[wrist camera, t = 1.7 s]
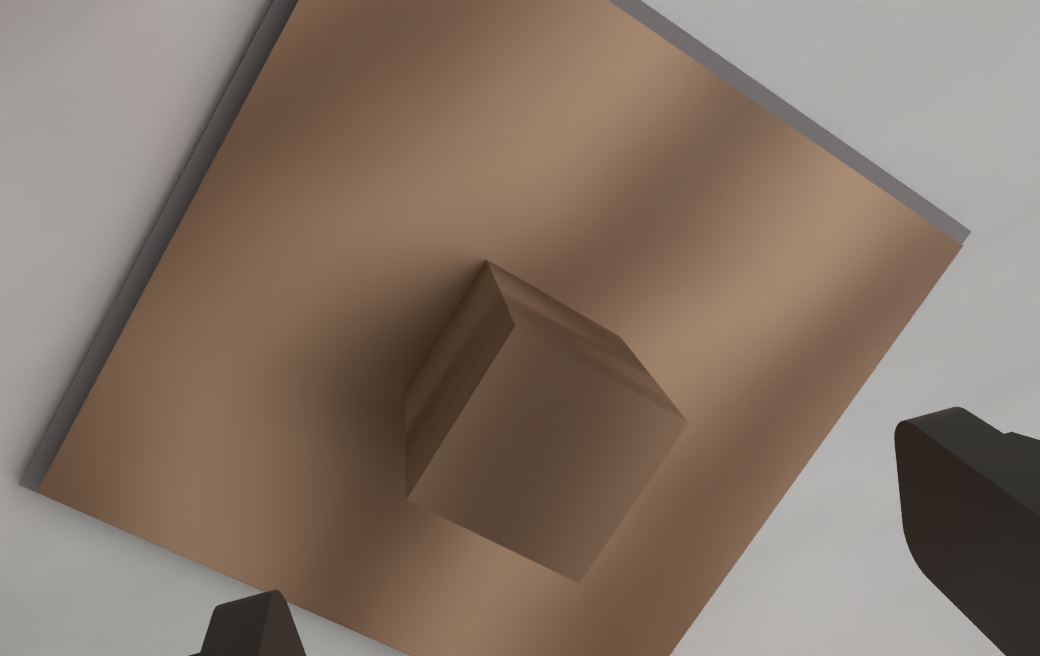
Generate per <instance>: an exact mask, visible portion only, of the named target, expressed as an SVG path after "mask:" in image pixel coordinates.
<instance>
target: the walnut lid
mask: <svg viewBox="0 0 1040 656" xmlns="http://www.w3.org/2000/svg"><path fill="white" fill-rule="evenodd" d="M962 247H963V245H962V244H960V243H959V242H957V241H956V240H954V239H953V238H952V237H950V236H949V235H947V234H946V233H944V232H943V231H941V230H940V229H939V228H937V227H936V226H934V225H933V224H931V223H930V222H928V221H927V220H926V219H924V218H923V217H921V216H920V215H918V214H917V213H915V212H914V211H913V210H911V209H910V208H908V207H907V206H905V205H904V204H902V203H901V202H899V201H898V200H897V199H895V198H894V197H892V196H891V195H889V194H888V193H886V192H885V191H884V190H882V189H881V188H879V187H878V186H876V185H875V184H873V183H872V182H871V181H869V180H868V179H866V178H865V177H863V176H862V175H860V174H859V173H858V172H856V171H855V170H853V169H852V168H850V167H849V166H847V165H846V164H844V163H843V162H842V161H840V160H839V159H837V158H836V157H834V156H833V155H831V154H830V153H829V152H827V151H826V150H824V149H823V148H821V147H820V146H818V145H817V144H816V143H814V142H813V141H811V140H810V139H808V138H807V137H805V136H804V135H803V134H801V133H800V132H798V131H797V130H795V129H794V128H792V127H791V126H789V125H788V124H787V123H785V122H784V121H782V120H781V119H779V118H778V117H776V116H775V115H774V114H772V113H771V112H769V111H768V110H766V109H765V108H763V107H762V106H761V105H759V104H758V103H756V102H755V101H753V100H752V99H750V98H749V97H747V96H746V95H745V94H743V93H742V92H740V91H739V90H737V89H736V88H734V87H733V86H732V85H730V84H729V83H727V82H726V81H724V80H723V79H721V78H720V77H719V76H717V75H716V74H714V73H713V72H711V71H710V70H708V69H707V68H706V67H704V66H703V65H701V64H700V63H698V62H697V61H695V60H694V59H692V58H691V57H690V56H688V55H687V54H685V53H684V52H682V51H681V50H679V49H678V48H677V47H675V46H674V45H672V44H671V43H669V42H668V41H666V40H665V39H664V38H662V37H661V36H659V35H658V34H656V33H655V32H653V31H652V30H651V29H649V28H648V27H646V26H645V25H643V24H642V23H640V22H639V21H637V20H636V19H635V18H633V17H632V16H630V15H629V14H627V13H626V12H624V11H623V10H622V9H620V8H619V7H617V6H616V5H614V4H613V3H611V2H610V1H609V0H299V1H298V3H297V5H296V6H295V8H294V10H293V12H292V14H291V16H290V18H289V20H288V21H287V23H286V25H285V27H284V29H283V31H282V33H281V35H280V36H279V38H278V40H277V42H276V44H275V46H274V48H273V50H272V51H271V53H270V55H269V57H268V59H267V61H266V63H265V65H264V66H263V68H262V70H261V72H260V74H259V76H258V78H257V80H256V82H255V83H254V85H253V87H252V89H251V91H250V93H249V95H248V97H247V98H246V100H245V102H244V104H243V106H242V108H241V110H240V112H239V113H238V115H237V117H236V119H235V121H234V123H233V125H232V127H231V128H230V130H229V132H228V134H227V136H226V138H225V140H224V142H223V143H222V145H221V147H220V149H219V151H218V153H217V155H216V157H215V158H214V160H213V162H212V164H211V166H210V168H209V170H208V172H207V173H206V175H205V177H204V179H203V181H202V183H201V185H200V187H199V188H198V190H197V192H196V194H195V196H194V198H193V200H192V202H191V203H190V205H189V207H188V209H187V211H186V213H185V215H184V217H183V219H182V220H181V222H180V224H179V226H178V228H177V230H176V232H175V234H174V235H173V237H172V239H171V241H170V243H169V245H168V247H167V249H166V250H165V252H164V254H163V256H162V258H161V260H160V262H159V264H158V265H157V267H156V269H155V271H154V273H153V275H152V277H151V279H150V280H149V282H148V284H147V286H146V288H145V290H144V292H143V294H142V295H141V297H140V299H139V301H138V303H137V305H136V307H135V309H134V310H133V312H132V314H131V316H130V318H129V320H128V322H127V324H126V325H125V327H124V329H123V331H122V333H121V335H120V337H119V339H118V340H117V342H116V344H115V346H114V348H113V350H112V352H111V354H110V355H109V357H108V359H107V361H106V363H105V365H104V367H103V369H102V371H101V372H100V374H99V376H98V378H97V380H96V382H95V384H94V386H93V387H92V389H91V391H90V393H89V395H88V397H87V399H86V401H85V402H84V404H83V406H82V408H81V410H80V412H79V414H78V416H77V417H76V419H75V421H74V423H73V425H72V427H71V429H70V431H69V432H68V434H67V436H66V438H65V440H64V442H63V444H62V446H61V447H60V449H59V451H58V453H57V455H56V457H55V459H54V461H53V462H52V464H51V466H50V468H49V470H48V472H47V474H46V476H45V477H44V479H43V481H42V483H41V485H40V487H39V489H38V491H37V493H40V494H42V495H44V496H46V497H49V498H51V499H53V500H56V501H58V502H60V503H62V504H65V505H67V506H69V507H72V508H74V509H76V510H78V511H81V512H83V513H85V514H88V515H90V516H92V517H95V518H97V519H99V520H101V521H104V522H106V523H108V524H111V525H113V526H115V527H117V528H120V529H122V530H124V531H127V532H129V533H131V534H133V535H136V536H138V537H140V538H143V539H145V540H147V541H149V542H152V543H154V544H156V545H159V546H161V547H163V548H166V549H168V550H170V551H172V552H175V553H177V554H179V555H182V556H184V557H186V558H188V559H191V560H193V561H195V562H198V563H200V564H202V565H204V566H207V567H209V568H211V569H214V570H216V571H218V572H221V573H223V574H225V575H227V576H230V577H232V578H234V579H237V580H239V581H241V582H243V583H246V584H248V585H250V586H253V587H255V588H257V589H259V590H262V591H264V592H268V591H272V590H279V591H280V592H281V593H282V595H283V596H284V598H285V600H286V601H287V602H289V603H292V604H294V605H296V606H298V607H301V608H303V609H305V610H308V611H310V612H312V613H314V614H317V615H319V616H321V617H324V618H326V619H328V620H330V621H333V622H335V623H337V624H340V625H342V626H344V627H347V628H349V629H351V630H353V631H356V632H358V633H360V634H363V635H365V636H367V637H369V638H372V639H374V640H376V641H379V642H381V643H383V644H385V645H388V646H390V647H392V648H395V649H397V650H399V651H402V652H404V653H406V654H408V655H411V656H669V655H670V654H671V653H672V651H673V650H674V648H675V647H676V646H677V644H678V643H679V641H680V640H681V639H682V637H683V636H684V634H685V633H686V632H687V630H688V629H689V627H690V626H691V625H692V623H693V622H694V620H695V619H696V618H697V616H698V615H699V613H700V612H701V611H702V609H703V608H704V606H705V605H706V604H707V602H708V601H709V599H710V598H711V597H712V595H713V594H714V593H715V591H716V590H717V588H718V587H719V586H720V584H721V583H722V581H723V580H724V579H725V577H726V576H727V574H728V573H729V572H730V570H731V569H732V567H733V566H734V565H735V563H736V562H737V560H738V559H739V558H740V556H741V555H742V553H743V552H744V551H745V549H746V548H747V546H748V545H749V544H750V542H751V541H752V540H753V538H754V537H755V535H756V534H757V533H758V531H759V530H760V528H761V527H762V526H763V524H764V523H765V521H766V520H767V519H768V517H769V516H770V514H771V513H772V512H773V510H774V509H775V507H776V506H777V505H778V503H779V502H780V500H781V499H782V498H783V496H784V495H785V493H786V492H787V491H788V489H789V488H790V487H791V485H792V484H793V482H794V481H795V480H796V478H797V477H798V475H799V474H800V473H801V471H802V470H803V468H804V467H805V466H806V464H807V463H808V461H809V460H810V459H811V457H812V456H813V454H814V453H815V452H816V450H817V449H818V447H819V446H820V445H821V443H822V442H823V440H824V439H825V438H826V436H827V435H828V434H829V432H830V431H831V429H832V428H833V427H834V425H835V424H836V422H837V421H838V420H839V418H840V417H841V415H842V414H843V413H844V411H845V410H846V408H847V407H848V406H849V404H850V403H851V401H852V400H853V399H854V397H855V396H856V394H857V393H858V392H859V390H860V389H861V387H862V386H863V385H864V383H865V382H866V381H867V379H868V378H869V376H870V375H871V374H872V372H873V371H874V369H875V368H876V367H877V365H878V364H879V362H880V361H881V360H882V358H883V357H884V355H885V354H886V353H887V351H888V350H889V348H890V347H891V346H892V344H893V343H894V341H895V340H896V339H897V337H898V336H899V334H900V333H901V332H902V330H903V329H904V327H905V326H906V325H907V323H908V322H909V321H910V319H911V318H912V316H913V315H914V314H915V312H916V311H917V309H918V308H919V307H920V305H921V304H922V302H923V301H924V300H925V298H926V297H927V295H928V294H929V293H930V291H931V290H932V288H933V287H934V286H935V284H936V283H937V281H938V280H939V279H940V277H941V276H942V274H943V273H944V272H945V270H946V269H947V268H948V266H949V265H950V263H951V262H952V261H953V259H954V258H955V256H956V255H957V254H958V252H959V251H960V249H961V248H962Z"/></svg>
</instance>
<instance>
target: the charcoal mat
mask: <svg viewBox="0 0 1040 656" xmlns="http://www.w3.org/2000/svg"><path fill="white" fill-rule="evenodd" d="M298 1H299V0H274V1H273V3H272V5H271V7H270V9H269V11H268V12H267V14H266V16H265V18H264V20H263V22H262V24H261V26H260V28H259V30H258V31H257V33H256V35H255V37H254V39H253V41H252V43H251V45H250V47H249V48H248V50H247V52H246V54H245V56H244V58H243V60H242V62H241V64H240V66H239V67H238V69H237V71H236V73H235V75H234V77H233V79H232V81H231V83H230V85H229V86H228V88H227V90H226V92H225V94H224V96H223V98H222V100H221V102H220V103H219V105H218V107H217V109H216V111H215V113H214V115H213V117H212V119H211V121H210V122H209V124H208V126H207V128H206V130H205V132H204V134H203V136H202V138H201V139H200V141H199V143H198V145H197V147H196V149H195V151H194V153H193V155H192V157H191V158H190V160H189V162H188V164H187V166H186V168H185V170H184V172H183V174H182V176H181V177H180V179H179V181H178V183H177V185H176V187H175V189H174V191H173V193H172V194H171V196H170V198H169V200H168V202H167V204H166V206H165V208H164V210H163V212H162V213H161V215H160V217H159V219H158V221H157V223H156V225H155V227H154V229H153V230H152V232H151V234H150V236H149V238H148V240H147V242H146V244H145V246H144V248H143V249H142V251H141V253H140V255H139V257H138V259H137V261H136V263H135V265H134V267H133V268H132V270H131V272H130V274H129V276H128V278H127V280H126V282H125V284H124V285H123V287H122V289H121V291H120V293H119V295H118V297H117V299H116V301H115V303H114V304H113V306H112V308H111V310H110V312H109V314H108V316H107V318H106V320H105V322H104V323H103V325H102V327H101V329H100V331H99V333H98V335H97V337H96V339H95V340H94V342H93V344H92V346H91V348H90V350H89V352H88V354H87V356H86V358H85V359H84V361H83V363H82V365H81V367H80V369H79V371H78V373H77V375H76V376H75V378H74V380H73V382H72V384H71V386H70V388H69V390H68V392H67V394H66V395H65V397H64V399H63V401H62V403H61V405H60V407H59V409H58V411H57V413H56V414H55V416H54V418H53V420H52V422H51V424H50V426H49V428H48V430H47V431H46V433H45V435H44V437H43V439H42V441H41V443H40V445H39V447H38V449H37V450H36V452H35V454H34V456H33V458H32V460H31V462H30V464H29V466H28V467H27V469H26V471H25V473H24V475H23V477H22V479H21V481H20V483H19V485H21V486H24V487H26V488H28V489H31V490H33V491H35V492H37V491H38V489H39V487H40V485H41V483H42V481H43V479H44V477H45V476H46V474H47V472H48V470H49V468H50V466H51V464H52V462H53V461H54V459H55V457H56V455H57V453H58V451H59V449H60V447H61V446H62V444H63V442H64V440H65V438H66V436H67V434H68V432H69V431H70V429H71V427H72V425H73V423H74V421H75V419H76V417H77V416H78V414H79V412H80V410H81V408H82V406H83V404H84V402H85V401H86V399H87V397H88V395H89V393H90V391H91V389H92V387H93V386H94V384H95V382H96V380H97V378H98V376H99V374H100V372H101V371H102V369H103V367H104V365H105V363H106V361H107V359H108V357H109V355H110V354H111V352H112V350H113V348H114V346H115V344H116V342H117V340H118V339H119V337H120V335H121V333H122V331H123V329H124V327H125V325H126V324H127V322H128V320H129V318H130V316H131V314H132V312H133V310H134V309H135V307H136V305H137V303H138V301H139V299H140V297H141V295H142V294H143V292H144V290H145V288H146V286H147V284H148V282H149V280H150V279H151V277H152V275H153V273H154V271H155V269H156V267H157V265H158V264H159V262H160V260H161V258H162V256H163V254H164V252H165V250H166V249H167V247H168V245H169V243H170V241H171V239H172V237H173V235H174V234H175V232H176V230H177V228H178V226H179V224H180V222H181V220H182V219H183V217H184V215H185V213H186V211H187V209H188V207H189V205H190V203H191V202H192V200H193V198H194V196H195V194H196V192H197V190H198V188H199V187H200V185H201V183H202V181H203V179H204V177H205V175H206V173H207V172H208V170H209V168H210V166H211V164H212V162H213V160H214V158H215V157H216V155H217V153H218V151H219V149H220V147H221V145H222V143H223V142H224V140H225V138H226V136H227V134H228V132H229V130H230V128H231V127H232V125H233V123H234V121H235V119H236V117H237V115H238V113H239V112H240V110H241V108H242V106H243V104H244V102H245V100H246V98H247V97H248V95H249V93H250V91H251V89H252V87H253V85H254V83H255V82H256V80H257V78H258V76H259V74H260V72H261V70H262V68H263V66H264V65H265V63H266V61H267V59H268V57H269V55H270V53H271V51H272V50H273V48H274V46H275V44H276V42H277V40H278V38H279V36H280V35H281V33H282V31H283V29H284V27H285V25H286V23H287V21H288V20H289V18H290V16H291V14H292V12H293V10H294V8H295V6H296V5H297V3H298ZM609 1H610V2H611V3H613V4H614V5H616V6H617V7H619V8H620V9H622V10H623V11H624V12H626V13H627V14H629V15H630V16H632V17H633V18H635V19H636V20H637V21H639V22H640V23H642V24H643V25H645V26H646V27H648V28H649V29H651V30H652V31H653V32H655V33H656V34H658V35H659V36H661V37H662V38H664V39H665V40H666V41H668V42H669V43H671V44H672V45H674V46H675V47H677V48H678V49H679V50H681V51H682V52H684V53H685V54H687V55H688V56H690V57H691V58H692V59H694V60H695V61H697V62H698V63H700V64H701V65H703V66H704V67H706V68H707V69H708V70H710V71H711V72H713V73H714V74H716V75H717V76H719V77H720V78H721V79H723V80H724V81H726V82H727V83H729V84H730V85H732V86H733V87H734V88H736V89H737V90H739V91H740V92H742V93H743V94H745V95H746V96H747V97H749V98H750V99H752V100H753V101H755V102H756V103H758V104H759V105H761V106H762V107H763V108H765V109H766V110H768V111H769V112H771V113H772V114H774V115H775V116H776V117H778V118H779V119H781V120H782V121H784V122H785V123H787V124H788V125H789V126H791V127H792V128H794V129H795V130H797V131H798V132H800V133H801V134H803V135H804V136H805V137H807V138H808V139H810V140H811V141H813V142H814V143H816V144H817V145H818V146H820V147H821V148H823V149H824V150H826V151H827V152H829V153H830V154H831V155H833V156H834V157H836V158H837V159H839V160H840V161H842V162H843V163H844V164H846V165H847V166H849V167H850V168H852V169H853V170H855V171H856V172H858V173H859V174H860V175H862V176H863V177H865V178H866V179H868V180H869V181H871V182H872V183H873V184H875V185H876V186H878V187H879V188H881V189H882V190H884V191H885V192H886V193H888V194H889V195H891V196H892V197H894V198H895V199H897V200H898V201H899V202H901V203H902V204H904V205H905V206H907V207H908V208H910V209H911V210H913V211H914V212H915V213H917V214H918V215H920V216H921V217H923V218H924V219H926V220H927V221H928V222H930V223H931V224H933V225H934V226H936V227H937V228H939V229H940V230H941V231H943V232H944V233H946V234H947V235H949V236H950V237H952V238H953V239H954V240H956V241H957V242H959V243H960V244H963V242H964V241H965V240H966V238H967V237H968V235H969V234H970V233H971V231H970V230H969V229H967V228H966V227H964V226H963V225H961V224H960V223H959V222H957V221H956V220H954V219H953V218H951V217H950V216H949V215H947V214H946V213H944V212H943V211H941V210H940V209H939V208H937V207H936V206H934V205H933V204H931V203H930V202H929V201H927V200H926V199H924V198H923V197H921V196H920V195H919V194H917V193H916V192H914V191H913V190H911V189H910V188H909V187H907V186H906V185H904V184H903V183H901V182H900V181H898V180H897V179H896V178H894V177H893V176H891V175H890V174H888V173H887V172H886V171H884V170H883V169H881V168H880V167H878V166H877V165H876V164H874V163H873V162H871V161H870V160H868V159H867V158H866V157H864V156H863V155H861V154H860V153H858V152H857V151H856V150H854V149H853V148H851V147H850V146H848V145H847V144H846V143H844V142H843V141H841V140H840V139H838V138H837V137H835V136H834V135H833V134H831V133H830V132H828V131H827V130H825V129H824V128H823V127H821V126H820V125H818V124H817V123H815V122H814V121H813V120H811V119H810V118H808V117H807V116H805V115H804V114H803V113H801V112H800V111H798V110H797V109H795V108H794V107H793V106H791V105H790V104H788V103H787V102H785V101H784V100H783V99H781V98H780V97H778V96H777V95H775V94H774V93H773V92H771V91H770V90H768V89H767V88H765V87H764V86H762V85H761V84H760V83H758V82H757V81H755V80H754V79H752V78H751V77H750V76H748V75H747V74H745V73H744V72H742V71H741V70H740V69H738V68H737V67H735V66H734V65H732V64H731V63H730V62H728V61H727V60H725V59H724V58H722V57H721V56H720V55H718V54H717V53H715V52H714V51H712V50H711V49H710V48H708V47H707V46H705V45H704V44H702V43H701V42H700V41H698V40H697V39H695V38H694V37H692V36H691V35H689V34H688V33H687V32H685V31H684V30H682V29H681V28H679V27H678V26H677V25H675V24H674V23H672V22H671V21H669V20H668V19H667V18H665V17H664V16H662V15H661V14H659V13H658V12H657V11H655V10H654V9H652V8H651V7H649V6H648V5H647V4H645V3H644V2H642V1H641V0H609Z"/></svg>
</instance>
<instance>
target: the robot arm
mask: <svg viewBox="0 0 1040 656" xmlns="http://www.w3.org/2000/svg"><path fill="white" fill-rule="evenodd" d="M894 439H895V451H896V461H897V472H898V482H899V492H900V502H901V512H902V522H903V530H904V534H905V538H906V541H907V544H908V547H909V550H910V552H911V554H912V556H913V558H914V560H915V562H916V563H917V565H918V567H919V568H920V570H921V571H922V572H923V574H924V575H925V576H926V577H927V578H928V579H929V580H930V581H931V582H932V583H933V584H934V585H935V586H936V587H937V588H938V589H939V590H940V591H941V592H942V593H943V594H944V595H945V596H946V597H947V598H948V599H949V600H950V601H951V602H952V603H953V604H954V605H955V606H956V607H957V608H958V609H959V610H960V611H961V612H962V613H963V614H964V615H965V616H966V617H967V618H968V619H969V620H970V621H971V622H972V623H973V624H974V625H975V626H976V627H977V628H978V629H979V630H980V631H981V632H982V633H983V634H984V635H985V636H986V637H987V638H989V639H990V640H991V641H992V642H993V643H994V644H995V645H996V646H997V647H998V648H999V649H1000V650H1001V651H1002V652H1003V653H1004V654H1005V655H1006V656H1040V440H1037V439H1034V438H1031V437H1027V436H1024V435H1020V434H1017V433H1014V432H1010V433H1006V434H1003V433H1002V432H1000V431H999V430H997V429H995V428H994V427H992V426H991V425H989V424H988V423H986V422H984V421H983V420H981V419H980V418H978V417H977V416H975V415H973V414H972V413H970V412H969V411H967V410H965V409H963V408H961V407H952V408H949V409H945V410H941V411H938V412H934V413H930V414H927V415H923V416H919V417H915V418H912V419H908V420H904V421H901V422H900V423H899V424H898V425H897V427H896V430H895V437H894ZM190 656H306V654H305V651H304V648H303V646H302V643H301V640H300V637H299V635H298V632H297V629H296V626H295V624H294V621H293V618H292V615H291V613H290V610H289V607H288V605H287V602H286V600H285V598H284V596H283V595H282V593H281V592H280V591H279V590H272V591H268V592H264V593H261V594H257V595H253V596H250V597H246V598H242V599H239V600H235V601H231V602H228V603H224V604H220V605H218V606H216V607H215V609H214V611H213V614H212V617H211V620H210V623H209V627H208V630H207V633H206V636H205V639H204V642H203V646H202V649H201V652H200V653H197V654H193V655H190Z"/></svg>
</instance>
